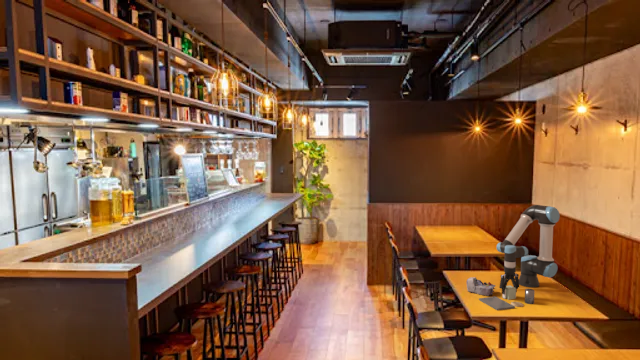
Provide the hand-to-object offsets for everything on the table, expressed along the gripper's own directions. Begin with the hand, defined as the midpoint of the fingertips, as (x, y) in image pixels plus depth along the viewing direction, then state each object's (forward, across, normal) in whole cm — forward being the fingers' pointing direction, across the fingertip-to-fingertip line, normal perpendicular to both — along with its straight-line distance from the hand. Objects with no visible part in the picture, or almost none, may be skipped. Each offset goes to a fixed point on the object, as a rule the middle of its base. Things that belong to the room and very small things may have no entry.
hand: (509, 297), depth 303 cm
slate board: (0, +17, +8) cm, 19 cm away
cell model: (+1, +13, -15) cm, 20 cm away
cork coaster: (+1, +4, +13) cm, 14 cm away
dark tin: (0, -7, +12) cm, 14 cm away
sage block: (0, 0, 0) cm, 0 cm away
